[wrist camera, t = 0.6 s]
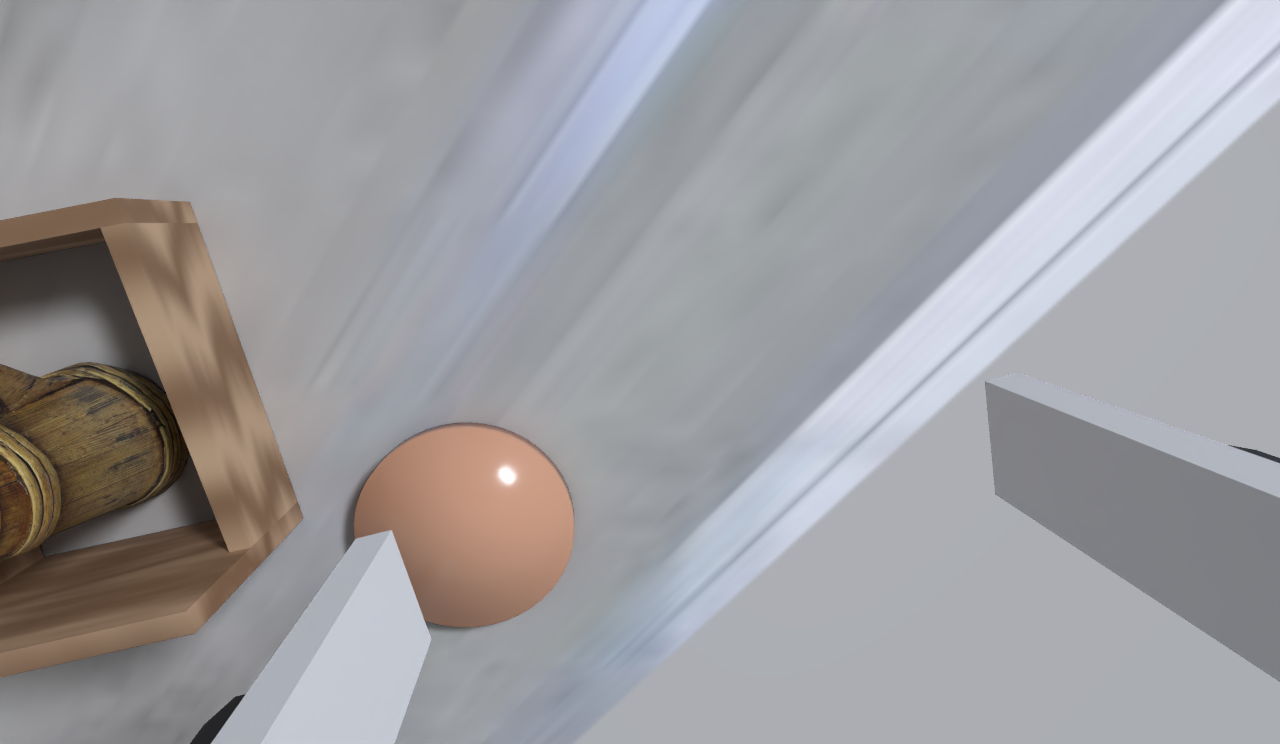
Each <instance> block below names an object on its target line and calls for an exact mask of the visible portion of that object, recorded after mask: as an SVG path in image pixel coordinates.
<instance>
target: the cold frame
mask: <svg viewBox="0 0 1280 744" xmlns="http://www.w3.org/2000/svg"><path fill="white" fill-rule="evenodd" d="M104 241H106V243H107V246H108V248H109V251H110V253H111V256H112V258H113V261H114V263H115V266H116V268H117V271H118V273H119V276H120V278H121V281H122V283H123V286H124V289H125V291H126V294H127V296H128V299H129V301H130V304H131V306H132V309H133V311H134V314H135V316H136V319H137V321H138V324H139V326H140V329H141V331H142V334H143V336H144V339H145V341H146V344H147V346H148V349H149V351H150V354H151V356H152V359H153V362H154V364H155V367H156V369H157V372H158V374H159V377H160V379H161V382H162V384H163V387H164V389H165V392H166V394H167V397H168V399H169V402H170V404H171V407H172V409H173V412H174V414H175V417H176V419H177V422H178V424H179V427H180V429H181V432H182V435H183V437H184V440H185V442H186V445H187V447H188V450H189V452H190V455H191V457H192V460H193V462H194V465H195V467H196V470H197V472H198V475H199V477H200V480H201V482H202V485H203V487H204V490H205V492H206V495H207V497H208V500H209V502H210V505H211V508H212V510H213V513H214V515H215V518H216V520H211V521H207V522H202V523H198V524H193V525H188V526H184V527H179V528H175V529H170V530H165V531H161V532H156V533H152V534H147V535H142V536H138V537H133V538H129V539H124V540H120V541H115V542H110V543H106V544H101V545H97V546H92V547H87V548H83V549H78V550H74V551H69V552H64V553H60V554H55V555H51V556H46V557H44V555H43V553H42V551H41V549H40V547H39V546H38V547H36V548H35V549H33V550H31V551H30V552H27V553H25V554H22V555H18V556H15V557H11V558H8V559H5V560H2V561H0V677H4V676H8V675H13V674H17V673H22V672H26V671H30V670H35V669H39V668H44V667H48V666H53V665H57V664H61V663H66V662H70V661H75V660H79V659H84V658H88V657H93V656H97V655H101V654H106V653H110V652H115V651H119V650H124V649H128V648H133V647H137V646H141V645H146V644H150V643H155V642H159V641H164V640H168V639H172V638H177V637H181V636H186V635H190V634H195V633H196V632H197V631H198V630H199V629H200V628H201V627H202V626H203V625H204V623H205V622H206V621H207V620H208V619H209V618H210V617H211V616H212V615H213V614H214V613H215V612H216V611H217V610H218V609H219V607H220V606H221V605H222V604H223V603H224V602H225V601H226V600H227V599H228V598H229V597H230V596H231V595H232V594H233V593H234V592H235V590H236V589H237V588H238V587H239V586H240V585H241V584H242V583H243V582H244V581H245V580H246V579H247V578H248V577H249V576H250V575H251V573H252V572H253V571H254V570H255V569H256V568H257V567H258V566H259V565H260V564H261V563H262V562H263V561H264V560H265V559H266V558H267V556H268V555H269V554H270V553H271V552H272V551H273V550H274V549H275V548H276V547H277V546H278V545H279V544H280V543H281V542H282V540H283V539H284V538H285V537H286V536H287V535H288V534H289V533H290V532H291V531H292V530H293V529H294V528H295V527H296V526H297V525H298V523H299V522H300V521H301V520H302V519H303V516H302V513H301V510H300V507H299V504H298V502H297V499H296V496H295V493H294V491H293V488H292V485H291V482H290V479H289V477H288V474H287V471H286V468H285V466H284V463H283V460H282V457H281V454H280V452H279V449H278V446H277V443H276V441H275V438H274V435H273V432H272V429H271V427H270V424H269V421H268V418H267V415H266V413H265V410H264V407H263V404H262V402H261V399H260V396H259V393H258V390H257V388H256V385H255V382H254V379H253V377H252V374H251V371H250V368H249V365H248V363H247V360H246V357H245V354H244V352H243V349H242V346H241V343H240V340H239V338H238V335H237V332H236V329H235V327H234V324H233V321H232V318H231V315H230V313H229V310H228V307H227V304H226V302H225V299H224V296H223V293H222V290H221V288H220V285H219V282H218V279H217V276H216V274H215V271H214V268H213V265H212V263H211V260H210V257H209V254H208V251H207V249H206V246H205V243H204V240H203V238H202V235H201V232H200V229H199V226H198V224H197V221H196V218H195V215H194V213H193V210H192V207H191V204H190V202H179V201H161V200H142V199H124V198H113V199H108V200H103V201H98V202H93V203H88V204H82V205H77V206H72V207H67V208H62V209H57V210H52V211H46V212H41V213H36V214H31V215H26V216H21V217H16V218H11V219H5V220H0V262H3V261H8V260H13V259H18V258H23V257H28V256H33V255H38V254H43V253H48V252H53V251H58V250H63V249H68V248H74V247H79V246H84V245H89V244H94V243H99V242H104Z"/></svg>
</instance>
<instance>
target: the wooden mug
mask: <svg viewBox="0 0 1280 744" xmlns="http://www.w3.org/2000/svg"><path fill="white" fill-rule="evenodd" d="M187 453H188V447H187V445H186V442H185V440H184V437H183V435H182V432H181V429H180V427H179V424H178V422H177V419H176V417H175V414H174V412H173V409H172V407H171V404H170V402H169V399H168V397H167V395H166V394H164V393H163V392H162V391H161V390H160V389H159V388H158V387H157V386H156V385H154V384H153V383H152V382H151V381H150V380H147V379H145V378H143V377H141V376H139V375H137V374H135V373H133V372H131V371H128V370H125V369H121V368H117V367H113V366H108V365H104V364H98V363H92V362H88V363H78V364H75V365H72V366H69V367H67V368H64V369H61V370H58V371H55V372H52V373H50V374H47V375H44V376H42V377H36V376H33V375H30V374H27V373H24V372H22V371H19V370H16V369H13V368H11V367H8V366H5V365H1V364H0V561H2V560H5V559H8V558H11V557H15V556H18V555H22V554H25V553H27V552H30V551H31V550H33V549H35V548H36V547H38V546H39V545H41V544H43V543H44V542H45V540H46V539H47V538H48V537H50V536H52V535H54V534H56V533H59V532H61V531H64V530H66V529H69V528H71V527H73V526H76V525H78V524H81V523H83V522H86V521H88V520H91V519H93V518H96V517H98V516H100V515H103V514H105V513H108V512H110V511H113V510H118V509H122V508H127V507H131V506H133V505H136V504H138V503H140V502H143V501H145V500H148V499H150V498H152V497H154V496H156V495H158V494H160V493H162V492H164V491H166V490H167V489H168V488H169V487H170V486H171V485H172V484H173V483H174V482H175V481H176V480H177V479H178V478H179V476H180V474H181V472H182V470H183V469H184V467H185V465H186V461H187Z"/></svg>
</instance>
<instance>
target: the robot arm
mask: <svg viewBox="0 0 1280 744" xmlns="http://www.w3.org/2000/svg"><path fill="white" fill-rule="evenodd" d="M985 389H986V398H987V410H988V421H989V431H990V441H991V453H992V463H993V474H994V485H995V494H996V495H997V496H999V497H1000V498H1002V499H1003V500H1005V501H1006V502H1008V503H1009V504H1011V505H1012V506H1014V507H1015V508H1017V509H1018V510H1020V511H1021V512H1023V513H1024V514H1026V515H1027V516H1029V517H1030V518H1032V519H1033V520H1035V521H1037V522H1038V523H1040V524H1041V525H1043V526H1044V527H1046V528H1047V529H1049V530H1050V531H1052V532H1053V533H1055V534H1056V535H1058V536H1059V537H1061V538H1062V539H1064V540H1065V541H1067V542H1068V543H1070V544H1071V545H1073V546H1075V547H1076V548H1078V549H1079V550H1080V551H1082V552H1084V553H1085V554H1087V555H1088V556H1090V557H1091V558H1093V559H1095V560H1096V561H1097V562H1099V563H1100V564H1102V565H1103V566H1105V567H1106V568H1108V569H1109V570H1111V571H1112V572H1114V573H1115V574H1117V575H1119V576H1120V577H1121V578H1123V579H1125V580H1126V581H1128V582H1129V583H1131V584H1132V585H1134V586H1135V587H1137V588H1138V589H1140V590H1141V591H1143V592H1144V593H1146V594H1147V595H1149V596H1150V597H1152V598H1154V599H1155V600H1157V601H1158V602H1159V603H1161V604H1162V605H1164V606H1166V607H1167V608H1169V609H1170V610H1172V611H1173V612H1175V613H1176V614H1178V615H1179V616H1181V617H1182V618H1184V619H1185V620H1187V621H1188V622H1190V623H1191V624H1193V625H1194V626H1196V627H1197V628H1199V629H1200V630H1202V631H1203V632H1205V633H1207V634H1208V635H1209V636H1211V637H1213V638H1214V639H1216V640H1217V641H1219V642H1220V643H1222V644H1223V645H1225V646H1226V647H1228V648H1229V649H1231V650H1232V651H1234V652H1235V653H1237V654H1238V655H1240V656H1241V657H1243V658H1244V659H1246V660H1247V661H1249V662H1251V663H1252V664H1253V665H1255V666H1257V667H1258V668H1260V669H1261V670H1263V671H1264V672H1266V673H1267V674H1269V675H1270V676H1272V677H1273V678H1275V679H1276V680H1278V681H1279V682H1280V458H1278V457H1275V456H1271V455H1269V454H1266V453H1263V452H1260V451H1257V450H1252V449H1247V448H1241V447H1236V446H1230V445H1225V444H1222V443H1219V442H1217V441H1214V440H1211V439H1208V438H1205V437H1202V436H1199V435H1196V434H1193V433H1191V432H1188V431H1185V430H1182V429H1179V428H1176V427H1173V426H1171V425H1168V424H1165V423H1162V422H1159V421H1156V420H1153V419H1150V418H1147V417H1144V416H1142V415H1139V414H1136V413H1133V412H1130V411H1127V410H1124V409H1122V408H1119V407H1115V406H1113V405H1110V404H1107V403H1104V402H1101V401H1098V400H1096V399H1092V398H1089V397H1087V396H1084V395H1081V394H1078V393H1075V392H1072V391H1069V390H1067V389H1064V388H1061V387H1058V386H1055V385H1052V384H1049V383H1046V382H1044V381H1041V380H1038V379H1035V378H1032V377H1029V376H1026V375H1023V374H1020V373H1015V374H1011V375H1007V376H1003V377H999V378H995V379H991V380H987V381H985ZM430 642H431V637H430V634H429V632H428V629H427V626H426V623H425V621H424V618H423V615H422V612H421V609H420V607H419V604H418V601H417V598H416V596H415V593H414V590H413V587H412V585H411V582H410V579H409V576H408V574H407V571H406V568H405V565H404V563H403V560H402V557H401V554H400V552H399V549H398V546H397V543H396V541H395V538H394V535H393V532H392V530H389V531H385V532H381V533H377V534H373V535H369V536H365V537H361V538H357V539H355V541H354V542H353V543H352V545H351V546H350V548H349V549H348V550H347V552H346V553H345V555H344V556H343V558H342V559H341V560H340V562H339V563H338V565H337V566H336V567H335V569H334V570H333V572H332V573H331V574H330V576H329V577H328V579H327V580H326V582H325V583H324V584H323V586H322V587H321V589H320V590H319V591H318V593H317V594H316V596H315V597H314V599H313V600H312V601H311V603H310V604H309V606H308V607H307V608H306V610H305V611H304V613H303V614H302V615H301V617H300V618H299V620H298V621H297V623H296V624H295V625H294V627H293V628H292V630H291V631H290V632H289V634H288V635H287V637H286V638H285V640H284V641H283V642H282V644H281V645H280V647H279V648H278V649H277V651H276V652H275V654H274V655H273V657H272V658H271V659H270V661H269V662H268V664H267V665H266V666H265V668H264V669H263V671H262V672H261V673H260V675H259V676H258V678H257V679H256V681H255V682H254V683H253V685H252V686H251V688H250V689H249V690H248V692H247V693H246V694H245V695H241V696H237V697H235V698H233V699H232V700H231V701H230V702H229V703H228V704H227V705H226V706H224V707H223V708H222V709H221V710H220V711H219V712H218V713H217V714H216V715H214V716H213V717H212V718H211V719H210V720H209V721H208V722H207V723H206V724H204V726H203V727H202V728H201V730H200V731H199V732H198V734H197V735H196V736H195V738H194V739H193V740H192V742H191V743H190V744H394V743H395V740H396V738H397V735H398V732H399V729H400V726H401V724H402V721H403V718H404V715H405V712H406V710H407V707H408V704H409V701H410V698H411V696H412V693H413V690H414V687H415V684H416V681H417V679H418V676H419V673H420V670H421V667H422V665H423V662H424V659H425V656H426V653H427V651H428V648H429V645H430Z"/></svg>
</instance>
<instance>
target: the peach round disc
mask: <svg viewBox="0 0 1280 744" xmlns="http://www.w3.org/2000/svg"><path fill="white" fill-rule="evenodd" d="M389 530H392V532H393V535H394V538H395V541H396V543H397V546H398V549H399V552H400V554H401V557H402V560H403V563H404V565H405V568H406V571H407V574H408V576H409V579H410V582H411V585H412V587H413V590H414V593H415V596H416V598H417V601H418V604H419V607H420V609H421V612H422V615H423V618H424V620H425V621H428V622H432V623H435V624H439V625H445V626H450V627H480V626H486V625H492V624H496V623H499V622H503V621H506V620H508V619H511V618H513V617H516V616H518V615H520V614H521V613H523V612H525V611H527V610H528V609H530V608H531V607H533V606H534V605H535V604H537V603H538V602H539V601H541V600H542V599H543V598H544V597H545V596H546V595H547V594H548V593H549V592H550V591H551V590H552V588H553V587H554V586H555V585H556V583H557V582H558V580H559V579H560V577H561V575H562V574H563V572H564V570H565V568H566V566H567V563H568V561H569V558H570V554H571V551H572V547H573V538H574V509H573V503H572V498H571V495H570V492H569V489H568V486H567V484H566V482H565V480H564V478H563V476H562V474H561V473H560V471H559V470H558V468H557V467H556V465H555V464H554V463H553V462H552V461H551V459H550V458H549V457H548V456H547V455H546V454H545V453H544V452H543V451H541V450H540V449H539V448H538V447H537V446H536V445H534V444H533V443H531V442H530V441H528V440H527V439H525V438H523V437H521V436H519V435H517V434H515V433H513V432H511V431H508V430H505V429H503V428H500V427H496V426H491V425H487V424H479V423H453V424H446V425H441V426H437V427H434V428H430V429H427V430H425V431H422V432H420V433H418V434H415V435H413V436H412V437H410V438H408V439H407V440H405V441H403V442H402V443H401V444H399V445H398V446H397V447H396V448H394V449H393V450H392V451H391V452H390V453H389V454H388V455H387V456H386V457H385V458H384V459H383V460H382V461H381V463H380V464H379V465H378V466H377V467H376V469H375V470H374V471H373V473H372V474H371V475H370V477H369V478H368V480H367V482H366V483H365V485H364V487H363V489H362V491H361V494H360V496H359V499H358V502H357V506H356V511H355V516H354V537H355V539H357V538H361V537H365V536H369V535H373V534H377V533H381V532H385V531H389Z"/></svg>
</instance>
